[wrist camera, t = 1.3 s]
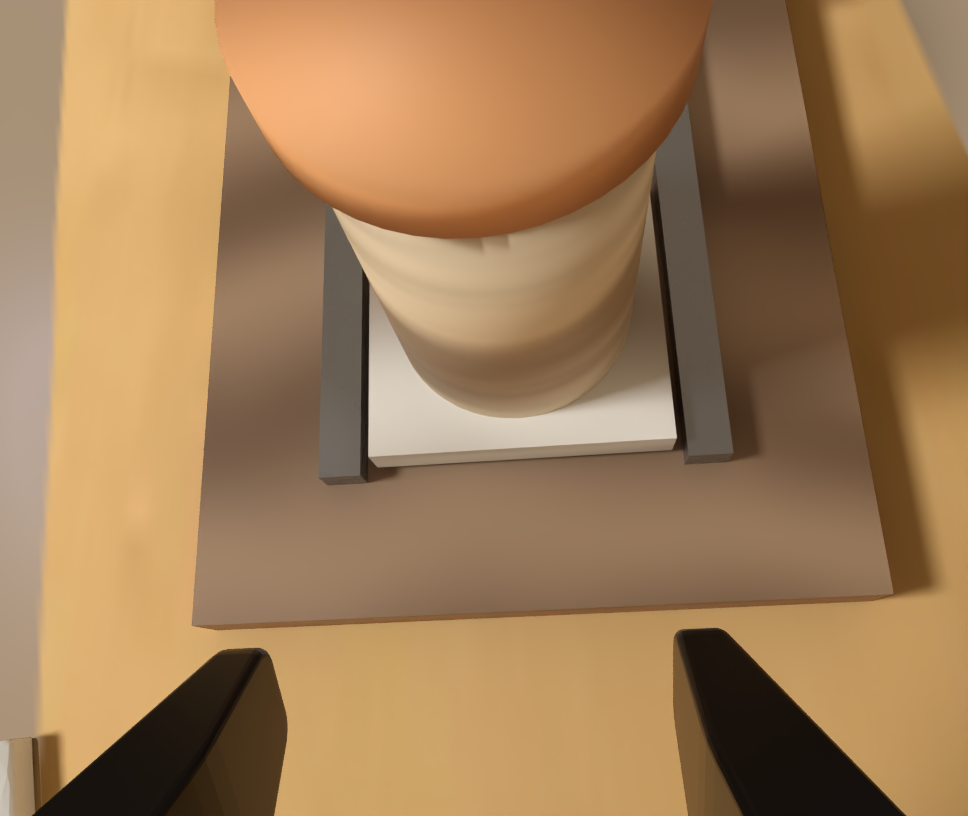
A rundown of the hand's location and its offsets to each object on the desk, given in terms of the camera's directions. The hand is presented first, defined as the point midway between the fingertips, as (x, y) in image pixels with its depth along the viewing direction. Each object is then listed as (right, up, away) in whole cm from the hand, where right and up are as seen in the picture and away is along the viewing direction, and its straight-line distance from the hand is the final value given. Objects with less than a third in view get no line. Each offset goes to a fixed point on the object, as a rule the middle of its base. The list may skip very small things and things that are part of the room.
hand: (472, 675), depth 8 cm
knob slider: (+1, +5, +14) cm, 15 cm away
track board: (+1, +8, +17) cm, 19 cm away
